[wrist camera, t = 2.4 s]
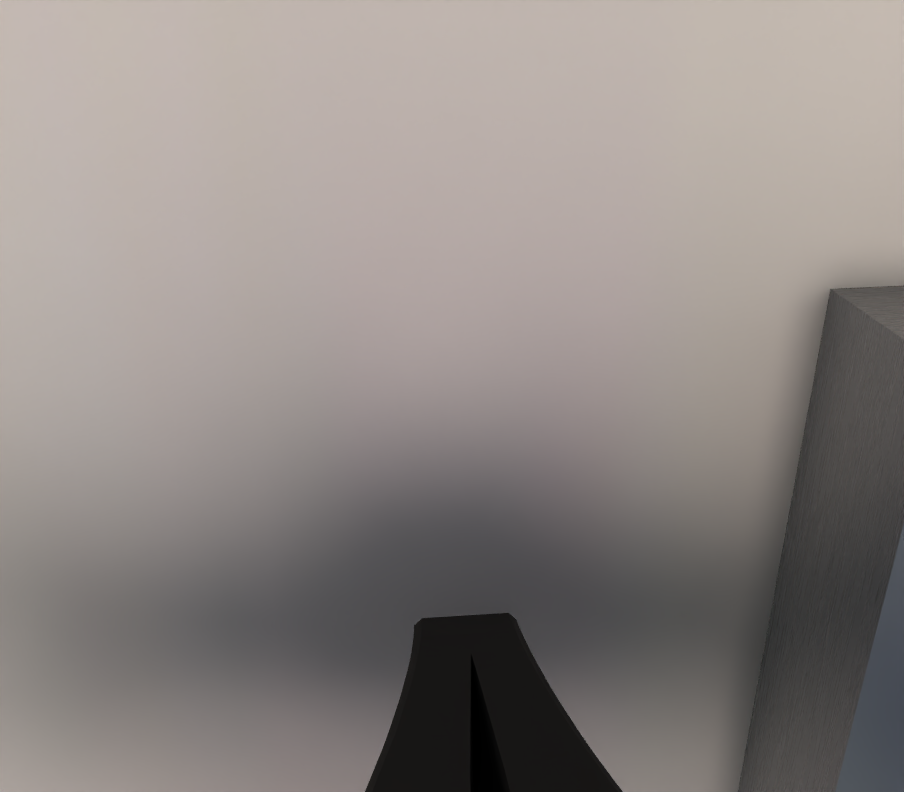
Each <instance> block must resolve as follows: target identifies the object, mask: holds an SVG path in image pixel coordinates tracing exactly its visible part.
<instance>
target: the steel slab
mask: <svg viewBox="0 0 904 792" xmlns="http://www.w3.org/2000/svg"><path fill="white" fill-rule="evenodd" d="M738 792H904V286H888V287H865V288H841V289H830V295H829V300H828V306H827V311H826V316H825V322H824V327H823V333H822V338H821V344H820V349H819V354H818V360H817V365H816V371H815V376H814V382H813V387H812V393H811V398H810V403H809V409H808V414H807V420H806V425H805V431H804V436H803V441H802V447H801V452H800V458H799V463H798V469H797V474H796V479H795V485H794V490H793V496H792V501H791V507H790V512H789V517H788V523H787V528H786V534H785V539H784V545H783V550H782V555H781V561H780V566H779V572H778V577H777V583H776V588H775V593H774V599H773V604H772V610H771V615H770V621H769V626H768V631H767V637H766V642H765V648H764V653H763V659H762V664H761V669H760V675H759V680H758V686H757V691H756V697H755V702H754V707H753V713H752V718H751V724H750V729H749V735H748V740H747V745H746V751H745V756H744V762H743V767H742V773H741V778H740V783H739V789H738Z"/></svg>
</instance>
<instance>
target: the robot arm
mask: <svg viewBox="0 0 904 792" xmlns="http://www.w3.org/2000/svg"><path fill="white" fill-rule="evenodd" d="M365 792H622V790H621V789H620V788H619V786H618V785H617V784H616V783H615V781H614V780H613V779H612V777H611V776H610V774H609V773H608V772H607V770H606V769H605V768H604V766H603V765H602V764H601V762H600V761H599V760H598V758H597V757H596V756H595V754H594V753H593V751H592V750H591V749H590V747H589V746H588V744H587V743H586V741H585V740H584V739H583V737H582V736H581V734H580V733H579V731H578V730H577V728H576V726H575V725H574V723H573V722H572V720H571V719H570V717H569V716H568V714H567V713H566V711H565V710H564V708H563V707H562V705H561V703H560V702H559V700H558V699H557V697H556V695H555V694H554V692H553V691H552V689H551V687H550V686H549V684H548V682H547V680H546V679H545V677H544V675H543V673H542V672H541V670H540V668H539V666H538V664H537V663H536V661H535V659H534V657H533V655H532V653H531V651H530V649H529V647H528V645H527V643H526V641H525V639H524V637H523V635H522V633H521V630H520V628H519V626H518V623H517V620H516V619H515V618H514V617H513V616H512V615H510V614H509V613H500V614H484V615H468V616H452V617H436V618H422V619H421V620H420V621H419V622H418V623H416V624H415V625H414V640H413V646H412V653H411V658H410V663H409V667H408V671H407V675H406V679H405V682H404V686H403V690H402V693H401V697H400V700H399V703H398V706H397V709H396V712H395V715H394V718H393V721H392V724H391V727H390V730H389V733H388V736H387V739H386V741H385V744H384V747H383V749H382V752H381V754H380V757H379V759H378V761H377V764H376V766H375V769H374V771H373V774H372V776H371V778H370V781H369V783H368V786H367V788H366V791H365Z"/></svg>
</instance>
